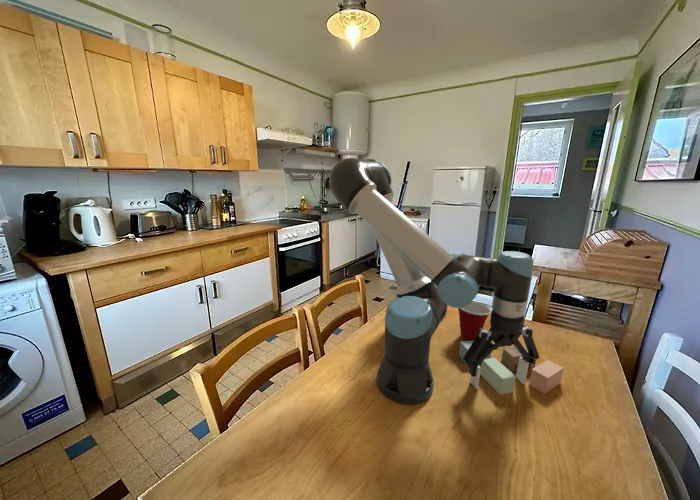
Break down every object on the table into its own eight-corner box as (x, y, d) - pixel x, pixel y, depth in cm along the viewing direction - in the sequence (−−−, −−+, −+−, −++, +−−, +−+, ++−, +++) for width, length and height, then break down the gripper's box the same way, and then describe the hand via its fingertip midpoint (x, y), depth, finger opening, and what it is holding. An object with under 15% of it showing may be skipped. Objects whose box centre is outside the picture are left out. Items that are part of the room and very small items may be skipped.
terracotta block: (544, 394, 74) (547, 378, 73) (528, 384, 77) (531, 369, 76) (560, 383, 78) (563, 367, 77) (544, 374, 81) (547, 359, 80)
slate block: (465, 363, 86) (467, 349, 85) (458, 355, 90) (460, 341, 89) (489, 361, 87) (492, 347, 86) (482, 353, 91) (484, 339, 90)
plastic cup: (494, 341, 97) (499, 309, 94) (470, 349, 93) (475, 316, 90) (469, 326, 107) (473, 297, 103) (447, 333, 102) (450, 302, 99)
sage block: (513, 392, 75) (516, 376, 73) (499, 395, 74) (502, 378, 72) (492, 372, 82) (494, 357, 81) (480, 374, 81) (482, 359, 80)
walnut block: (510, 371, 82) (512, 356, 81) (501, 363, 86) (503, 348, 85) (534, 368, 84) (537, 353, 82) (524, 360, 88) (526, 346, 86)
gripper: (469, 322, 67) (461, 397, 73) (564, 315, 70) (549, 388, 76) (454, 308, 74) (447, 377, 80) (541, 302, 77) (529, 369, 83)
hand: (497, 383), depth 78 cm, fingers open, 13 cm apart
